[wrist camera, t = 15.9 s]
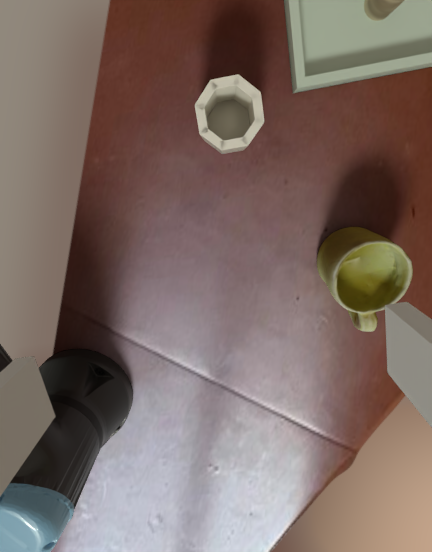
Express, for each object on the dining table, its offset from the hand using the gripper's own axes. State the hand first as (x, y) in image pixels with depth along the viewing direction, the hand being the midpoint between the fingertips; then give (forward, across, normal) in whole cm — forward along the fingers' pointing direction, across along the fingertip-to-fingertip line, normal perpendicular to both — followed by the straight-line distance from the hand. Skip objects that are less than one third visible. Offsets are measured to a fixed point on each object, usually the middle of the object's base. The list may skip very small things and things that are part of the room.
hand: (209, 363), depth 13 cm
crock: (+35, +3, +12) cm, 37 cm away
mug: (+35, +16, -9) cm, 40 cm away
